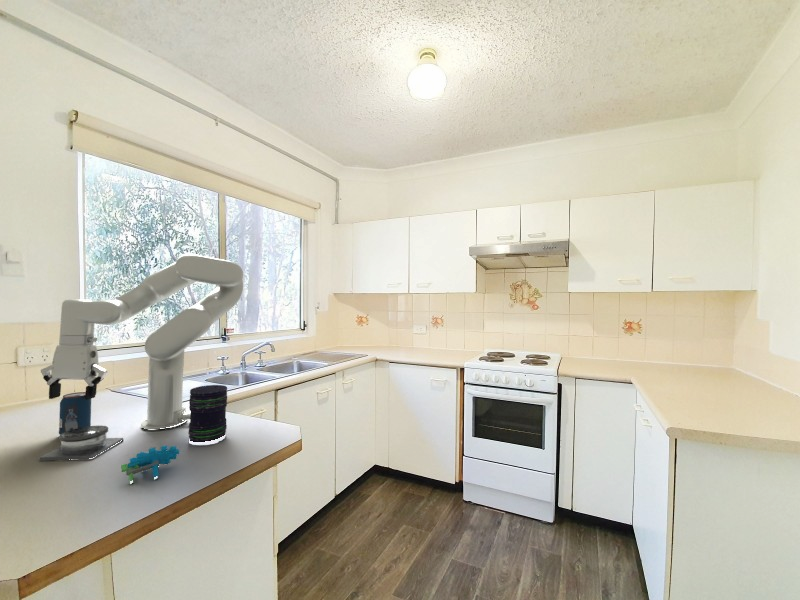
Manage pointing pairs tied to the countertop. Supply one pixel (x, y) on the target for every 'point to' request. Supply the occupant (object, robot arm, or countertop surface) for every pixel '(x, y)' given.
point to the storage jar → (207, 413)
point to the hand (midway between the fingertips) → (72, 398)
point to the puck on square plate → (81, 444)
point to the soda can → (74, 412)
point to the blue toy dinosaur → (150, 461)
